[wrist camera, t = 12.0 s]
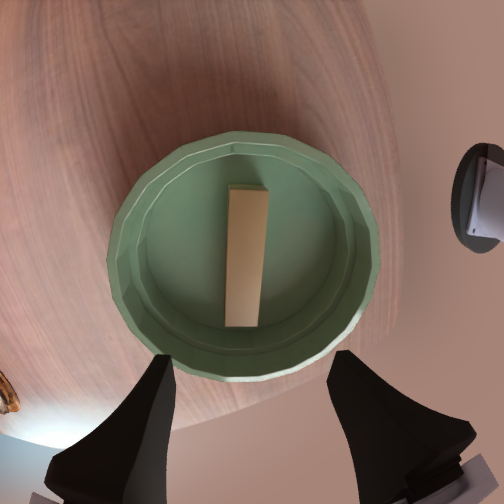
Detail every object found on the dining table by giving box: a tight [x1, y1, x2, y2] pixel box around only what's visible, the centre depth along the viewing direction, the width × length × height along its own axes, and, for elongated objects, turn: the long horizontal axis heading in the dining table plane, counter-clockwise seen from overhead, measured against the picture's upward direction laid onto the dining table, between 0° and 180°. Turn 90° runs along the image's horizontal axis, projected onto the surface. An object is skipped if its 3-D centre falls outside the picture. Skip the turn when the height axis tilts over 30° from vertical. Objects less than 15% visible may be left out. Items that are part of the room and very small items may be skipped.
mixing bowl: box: [106, 131, 380, 382], centre depth 17 cm, size 15×15×5 cm
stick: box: [224, 183, 269, 327], centre depth 18 cm, size 2×9×2 cm, turn 176°
